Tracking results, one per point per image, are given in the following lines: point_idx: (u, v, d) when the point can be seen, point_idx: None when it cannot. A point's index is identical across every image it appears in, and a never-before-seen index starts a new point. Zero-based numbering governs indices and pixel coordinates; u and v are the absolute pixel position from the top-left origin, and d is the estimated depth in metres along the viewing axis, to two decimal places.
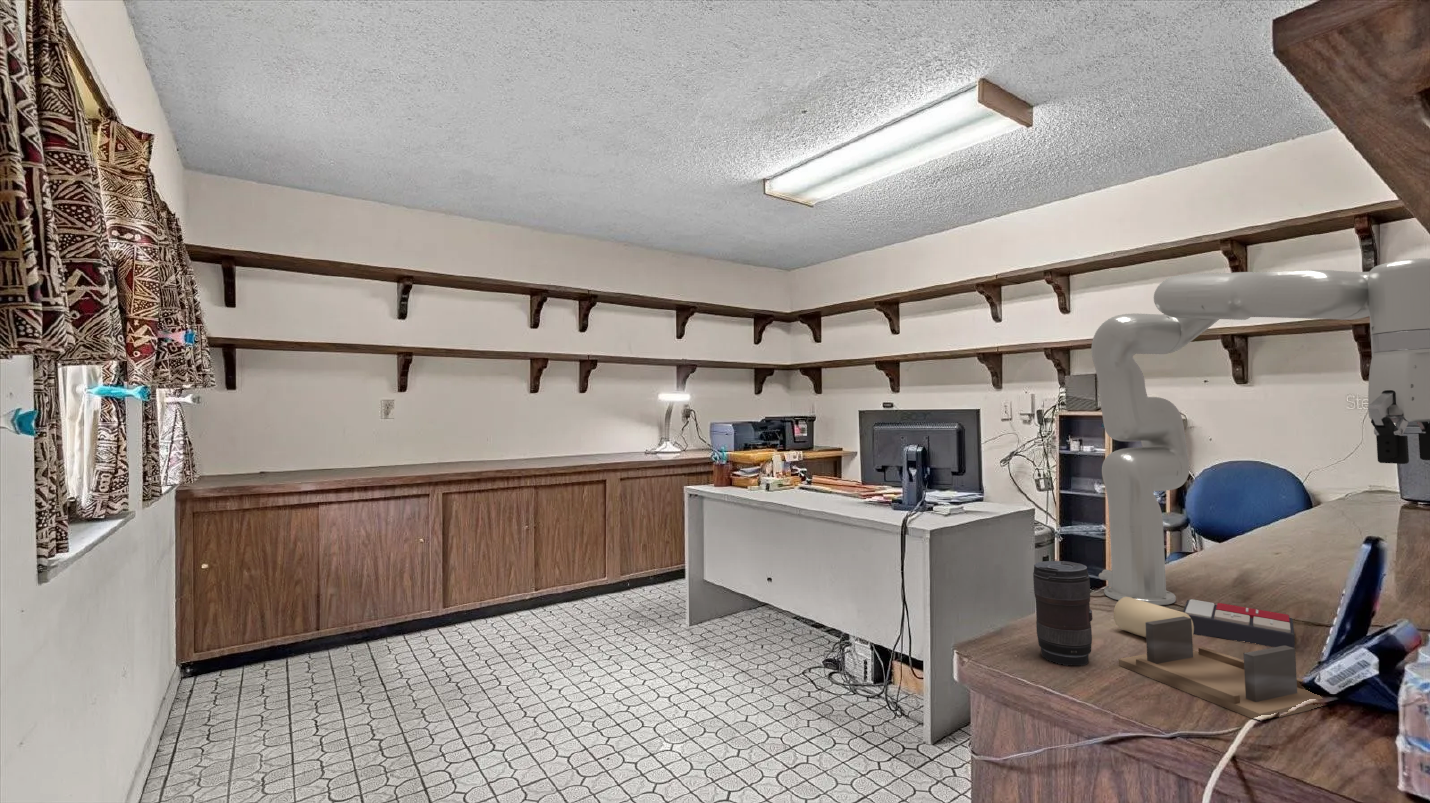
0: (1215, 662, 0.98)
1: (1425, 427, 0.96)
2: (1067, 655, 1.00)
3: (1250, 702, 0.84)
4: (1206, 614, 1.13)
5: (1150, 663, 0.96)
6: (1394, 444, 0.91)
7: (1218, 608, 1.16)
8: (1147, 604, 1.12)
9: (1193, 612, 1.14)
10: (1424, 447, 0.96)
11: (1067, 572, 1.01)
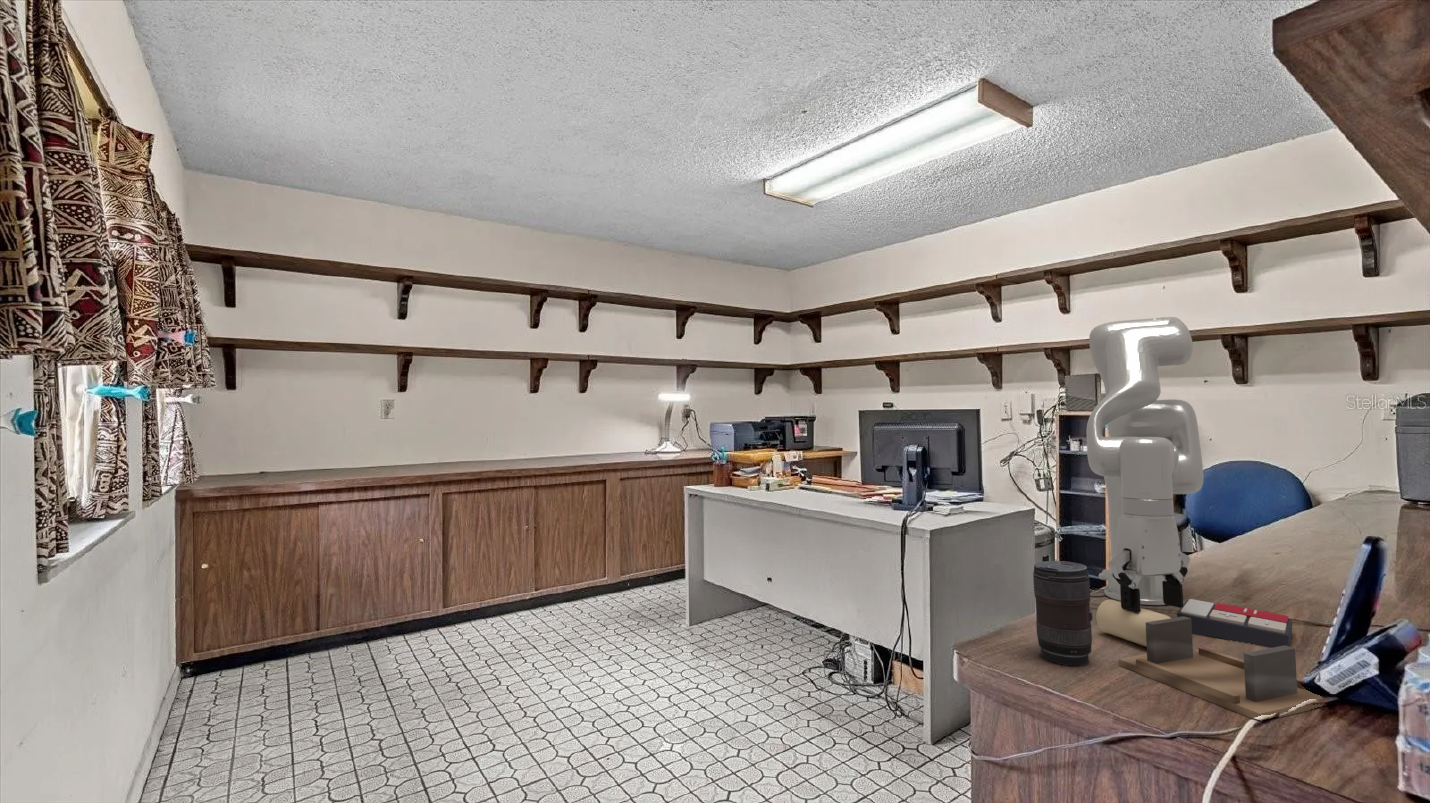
0: (1215, 662, 0.98)
1: (1166, 576, 1.14)
2: (1067, 655, 1.00)
3: (1250, 702, 0.84)
4: (1201, 613, 1.13)
5: (1150, 663, 0.96)
6: (1129, 595, 1.09)
7: (1216, 608, 1.16)
8: (1120, 625, 1.10)
9: (1189, 611, 1.14)
10: (1165, 593, 1.13)
11: (1067, 572, 1.01)
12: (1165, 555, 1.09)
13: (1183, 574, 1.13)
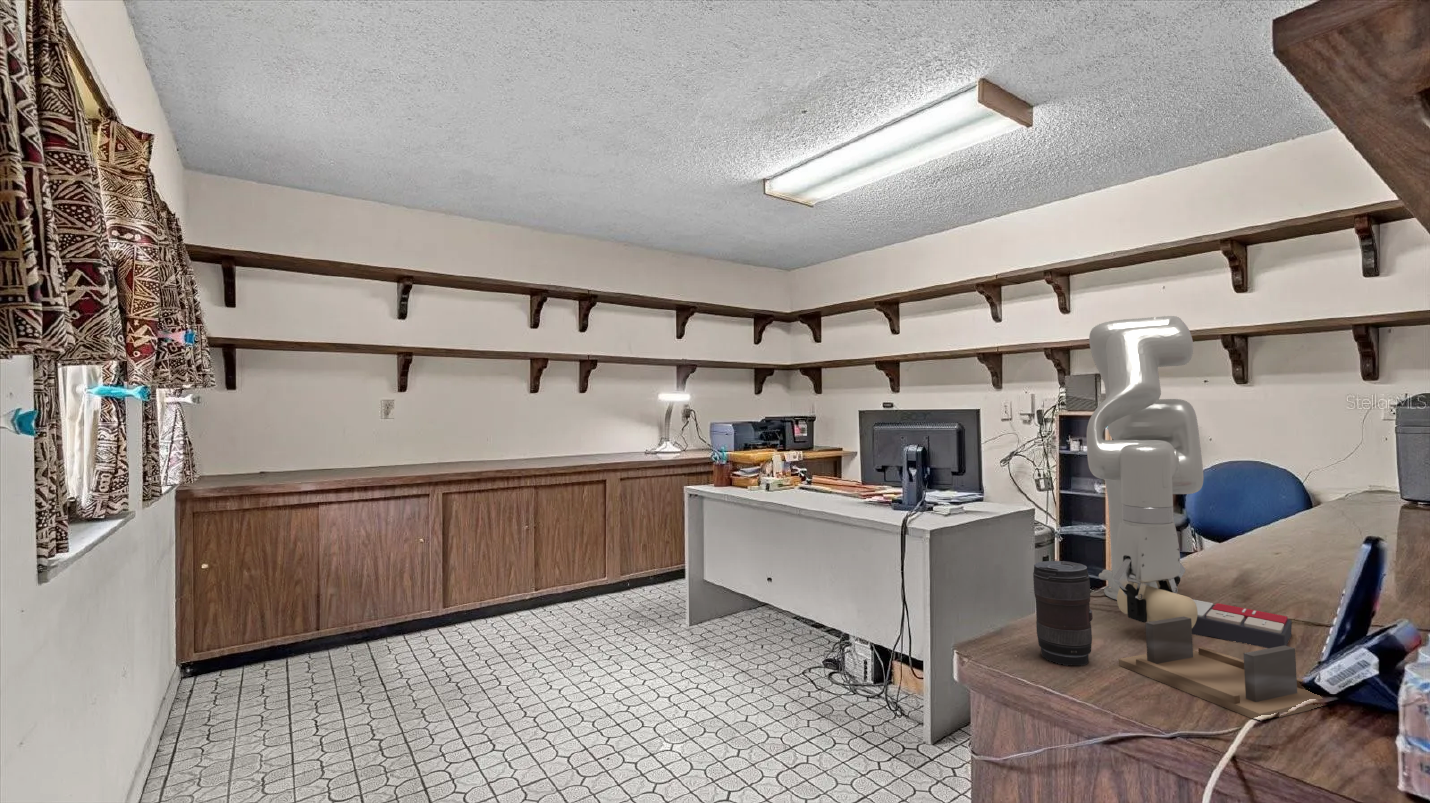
0: (1215, 662, 0.98)
1: (1160, 584, 1.14)
2: (1067, 655, 1.00)
3: (1250, 702, 0.84)
4: (1198, 613, 1.14)
5: (1150, 663, 0.96)
6: (1136, 606, 1.11)
7: (1214, 608, 1.16)
8: (1143, 596, 1.11)
9: None
10: None
11: (1067, 572, 1.01)
12: (1164, 561, 1.10)
13: (1176, 583, 1.13)
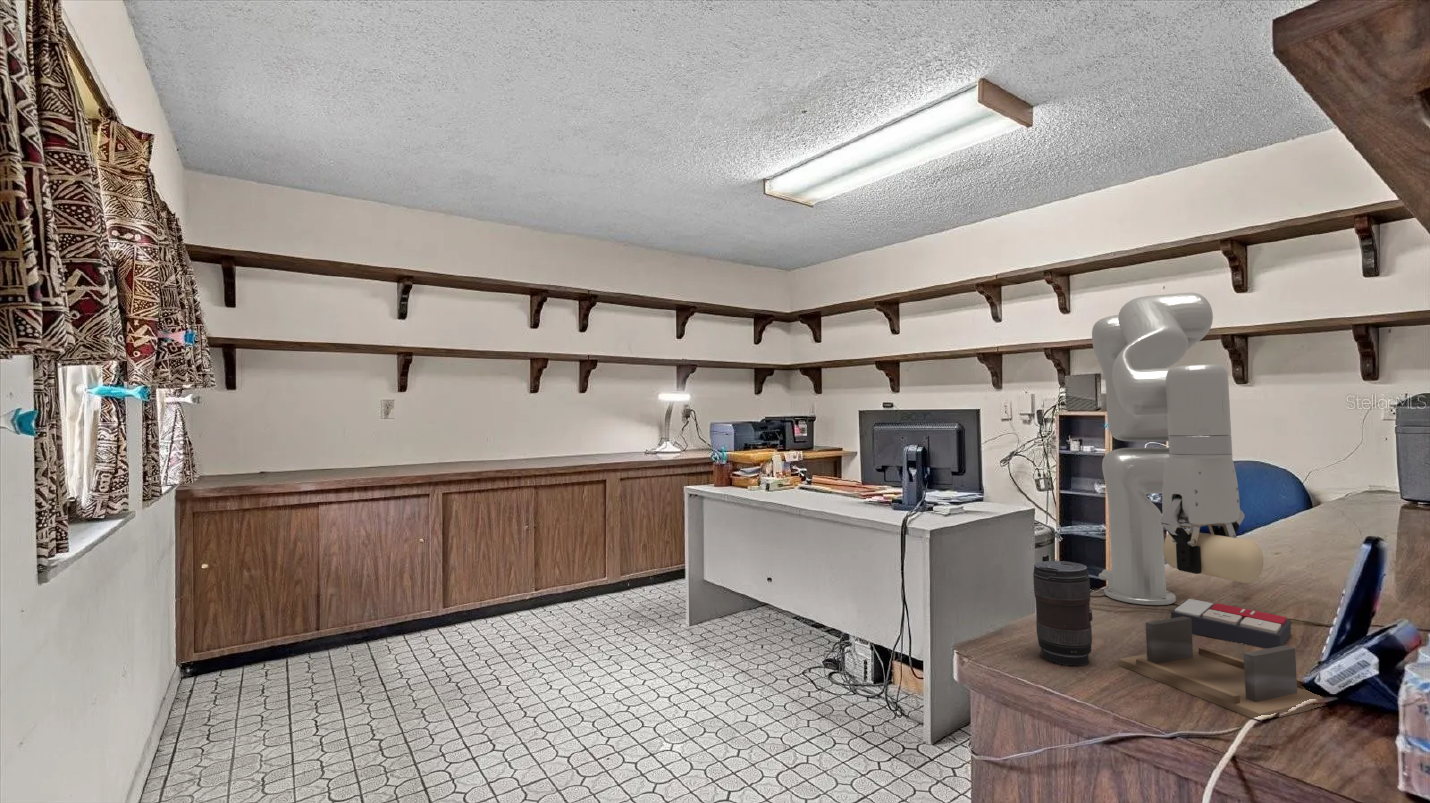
0: (1215, 662, 0.98)
1: (1214, 532, 0.97)
2: (1067, 655, 1.00)
3: (1250, 702, 0.84)
4: (1195, 613, 1.14)
5: (1150, 663, 0.96)
6: (1188, 554, 0.93)
7: (1212, 608, 1.16)
8: (1197, 542, 0.94)
9: (1182, 610, 1.15)
10: None
11: (1067, 572, 1.01)
12: (1222, 501, 0.93)
13: (1234, 531, 0.96)
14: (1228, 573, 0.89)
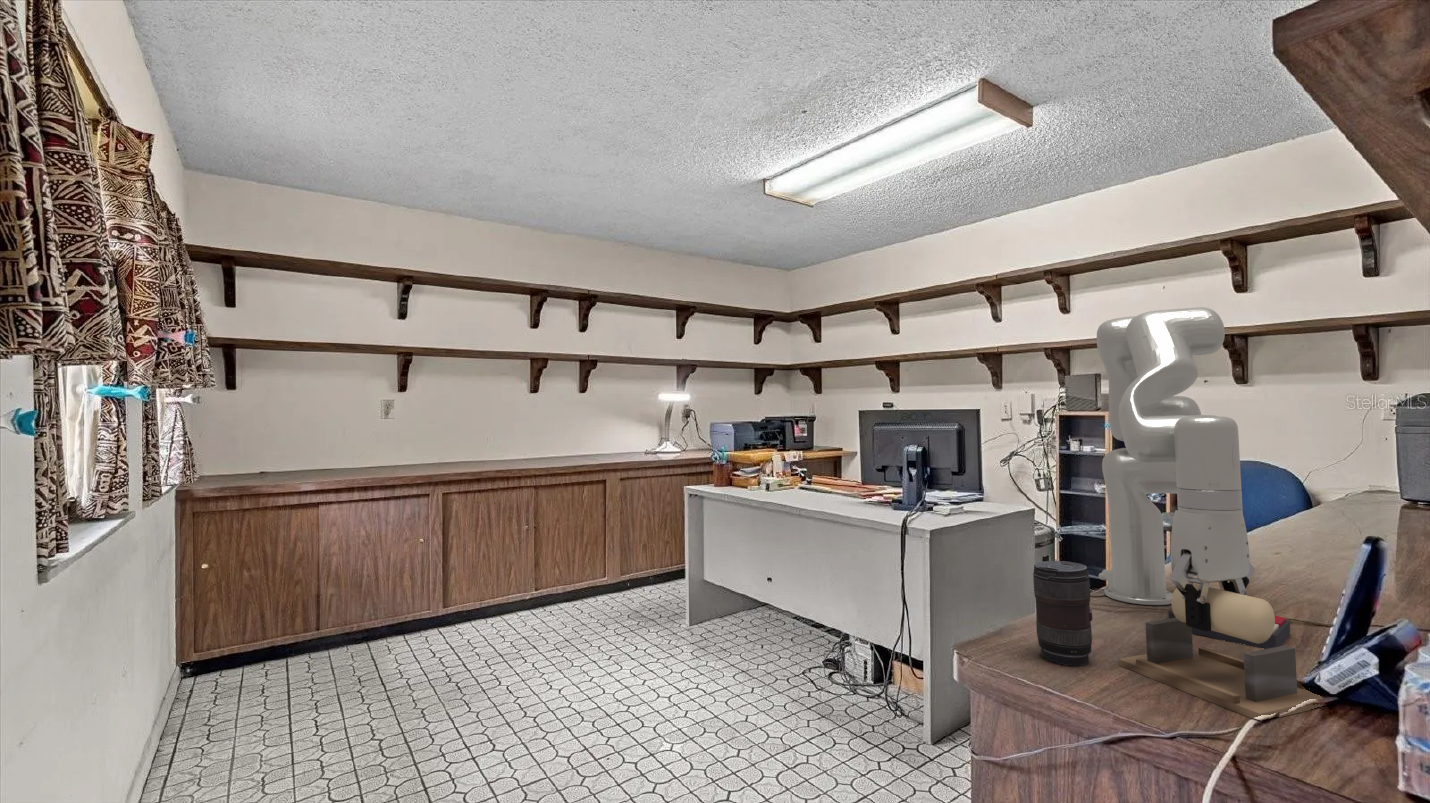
0: (1215, 662, 0.98)
1: (1224, 586, 0.95)
2: (1067, 655, 1.00)
3: (1250, 702, 0.84)
4: None
5: (1150, 663, 0.96)
6: (1197, 611, 0.91)
7: None
8: None
9: None
10: None
11: (1067, 572, 1.01)
12: (1232, 557, 0.91)
13: (1244, 585, 0.94)
14: (1239, 633, 0.87)
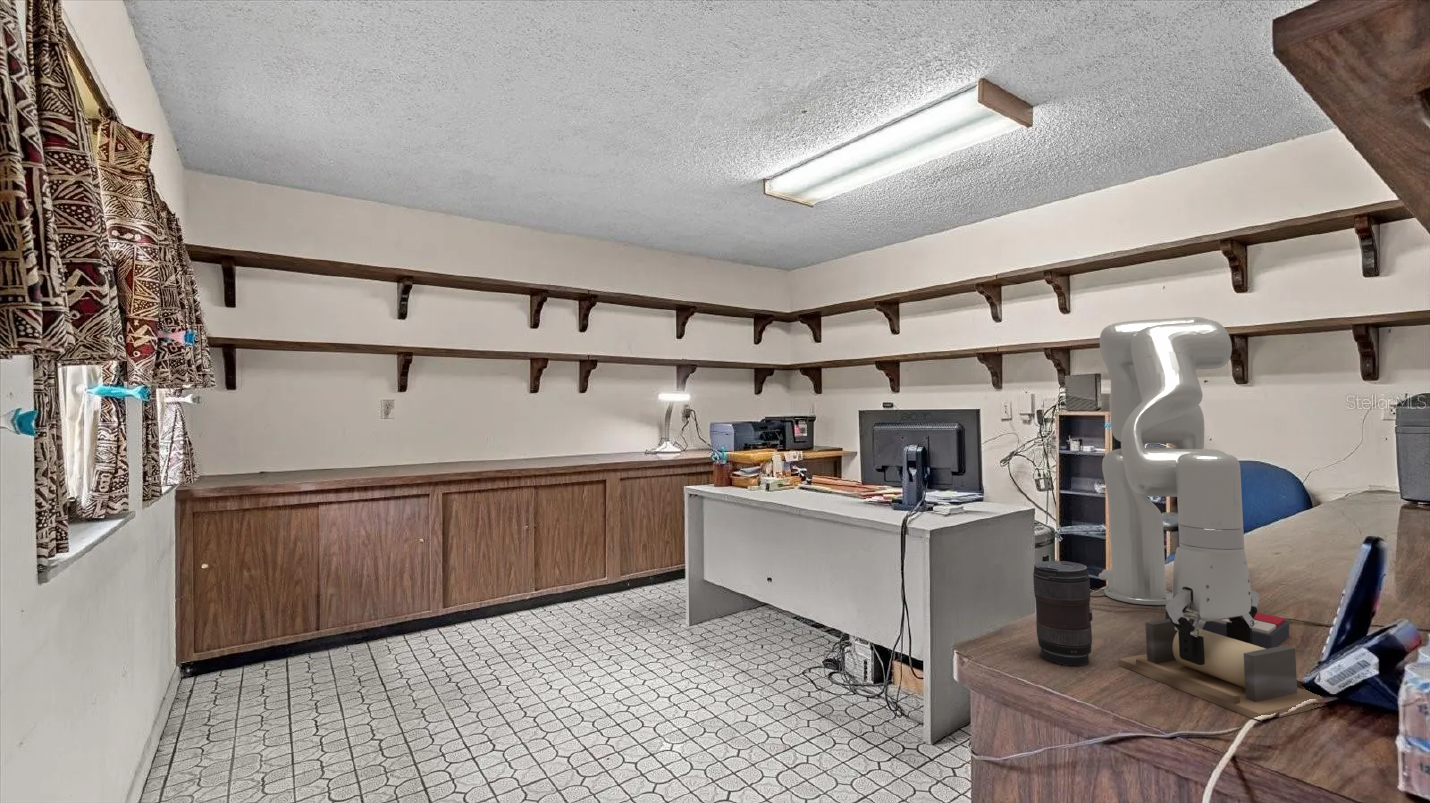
0: None
1: (1231, 617, 0.95)
2: (1067, 655, 1.00)
3: (1250, 702, 0.84)
4: None
5: (1150, 663, 0.96)
6: (1191, 644, 0.91)
7: None
8: (1207, 645, 0.92)
9: None
10: None
11: (1067, 572, 1.01)
12: (1233, 595, 0.91)
13: (1252, 615, 0.94)
14: (1240, 682, 0.88)
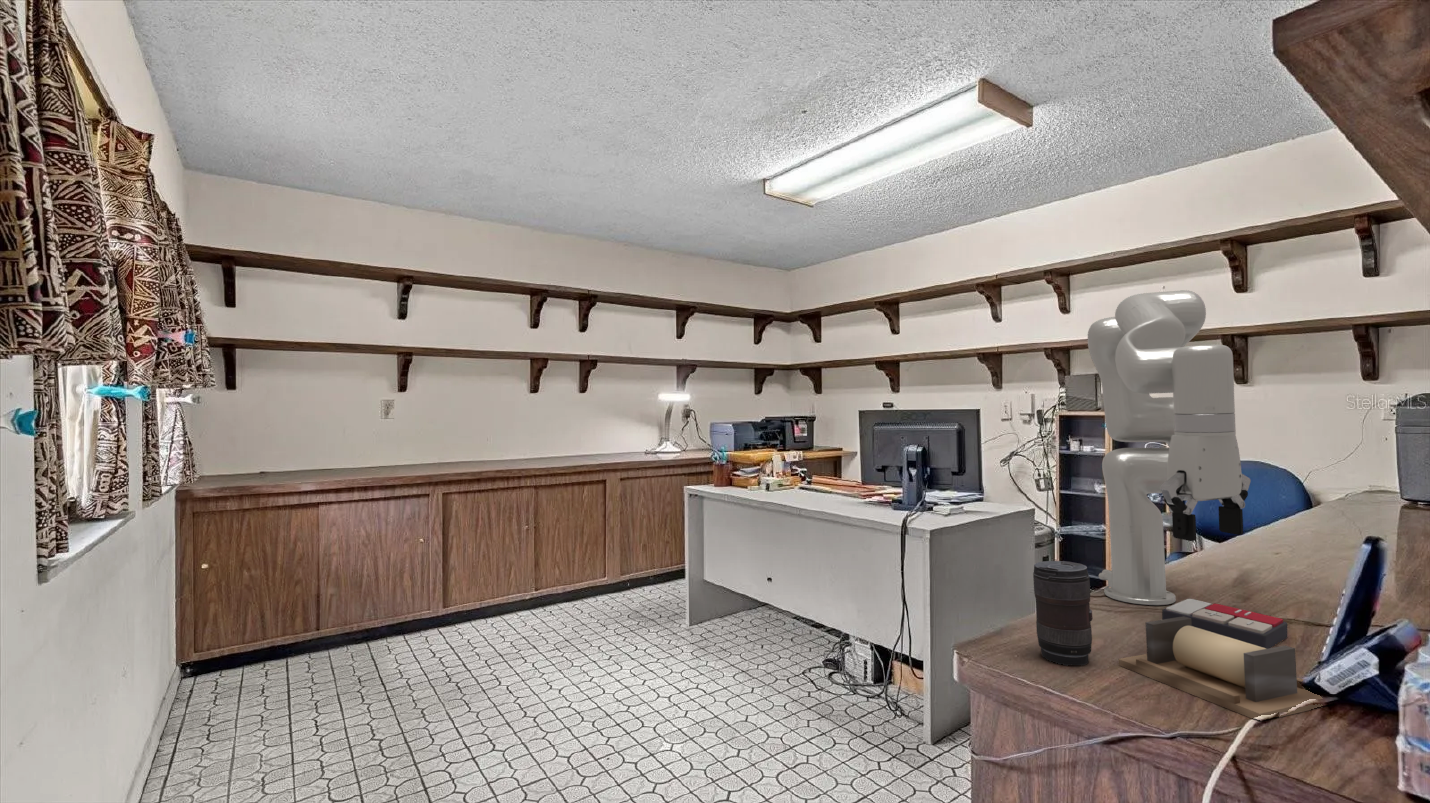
0: None
1: (1223, 501, 1.01)
2: (1067, 655, 1.00)
3: (1250, 702, 0.84)
4: (1186, 611, 1.15)
5: (1150, 663, 0.96)
6: (1183, 522, 0.96)
7: (1207, 607, 1.16)
8: (1207, 644, 0.92)
9: (1174, 609, 1.16)
10: (1222, 520, 1.01)
11: (1067, 572, 1.01)
12: (1225, 476, 0.97)
13: (1243, 498, 1.00)
14: (1240, 681, 0.88)
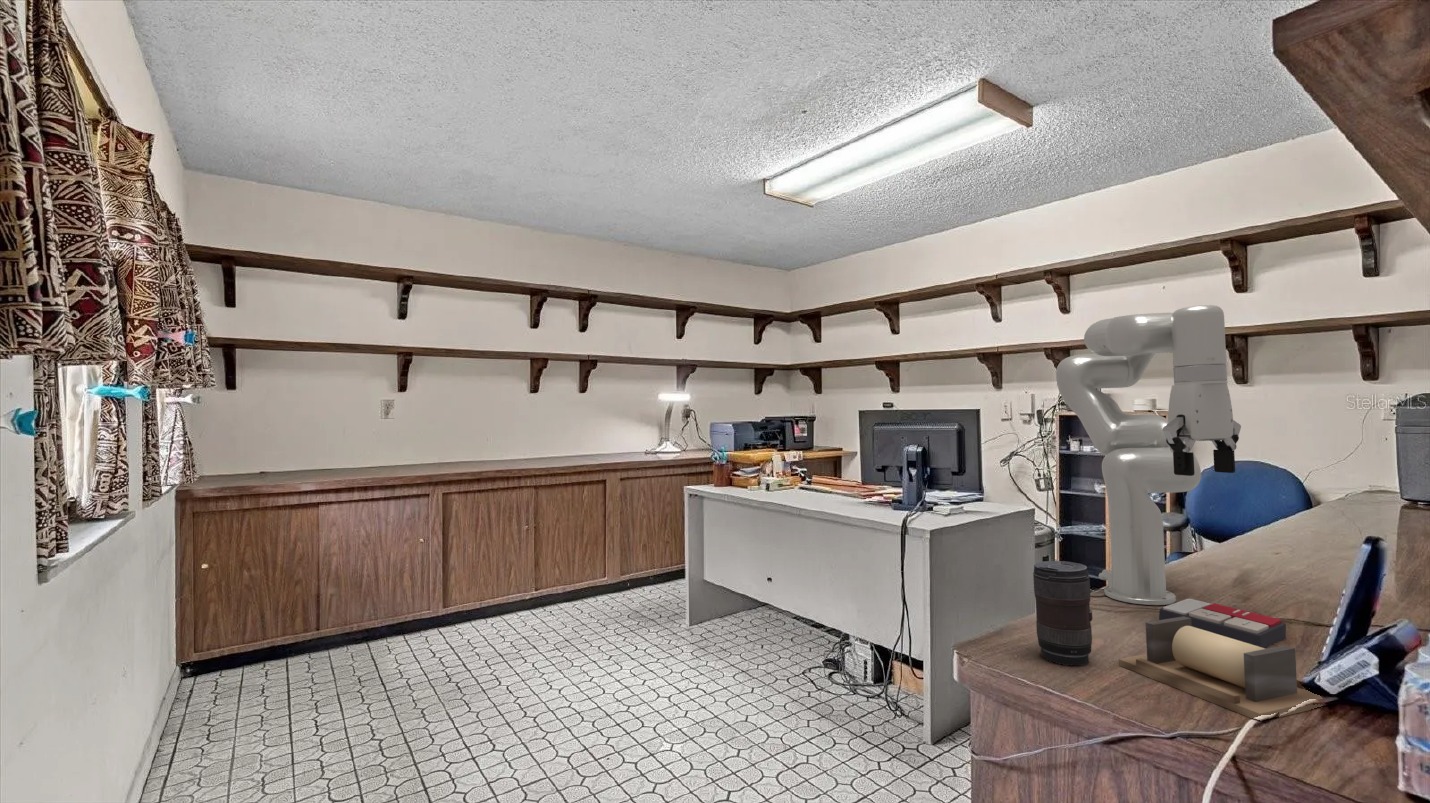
0: None
1: (1218, 444, 1.15)
2: (1067, 655, 1.00)
3: (1250, 702, 0.84)
4: (1183, 611, 1.15)
5: (1150, 663, 0.96)
6: (1183, 459, 1.10)
7: (1205, 607, 1.16)
8: (1206, 645, 0.92)
9: (1171, 608, 1.17)
10: (1216, 461, 1.15)
11: (1067, 572, 1.01)
12: (1218, 420, 1.11)
13: (1234, 441, 1.14)
14: (1240, 682, 0.88)
